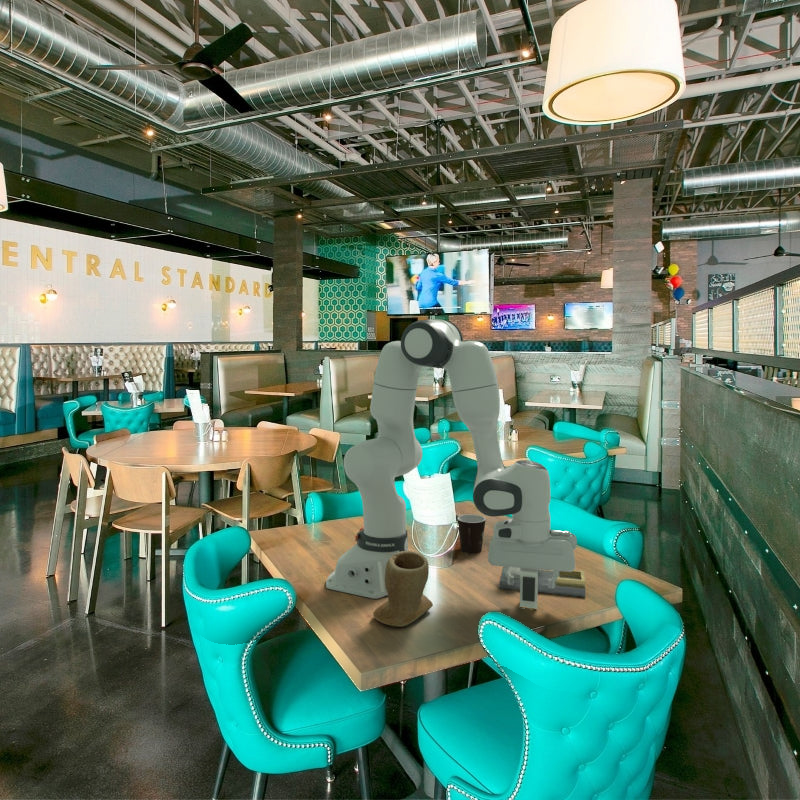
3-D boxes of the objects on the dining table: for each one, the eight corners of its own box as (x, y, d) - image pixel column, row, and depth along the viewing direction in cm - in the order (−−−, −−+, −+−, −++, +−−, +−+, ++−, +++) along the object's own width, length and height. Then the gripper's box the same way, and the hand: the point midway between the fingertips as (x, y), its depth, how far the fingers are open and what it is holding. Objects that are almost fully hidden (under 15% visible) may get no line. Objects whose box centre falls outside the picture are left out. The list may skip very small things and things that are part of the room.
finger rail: (499, 588, 144) (500, 546, 143) (502, 573, 154) (503, 534, 153) (585, 597, 139) (586, 554, 138) (582, 581, 148) (583, 541, 148)
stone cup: (408, 637, 119) (408, 569, 118) (366, 621, 126) (365, 557, 125) (446, 611, 131) (446, 549, 130) (405, 598, 138) (405, 539, 137)
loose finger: (519, 609, 132) (520, 572, 132) (520, 600, 137) (521, 565, 136) (536, 611, 131) (537, 573, 131) (537, 602, 136) (538, 566, 135)
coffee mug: (466, 543, 178) (467, 512, 177) (490, 549, 173) (490, 517, 172) (446, 553, 169) (446, 521, 169) (470, 560, 164) (470, 526, 163)
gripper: (576, 527, 133) (575, 584, 134) (489, 522, 138) (490, 576, 139) (577, 536, 127) (576, 595, 128) (487, 529, 132) (487, 586, 133)
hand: (530, 585), depth 134 cm, fingers open, 8 cm apart
